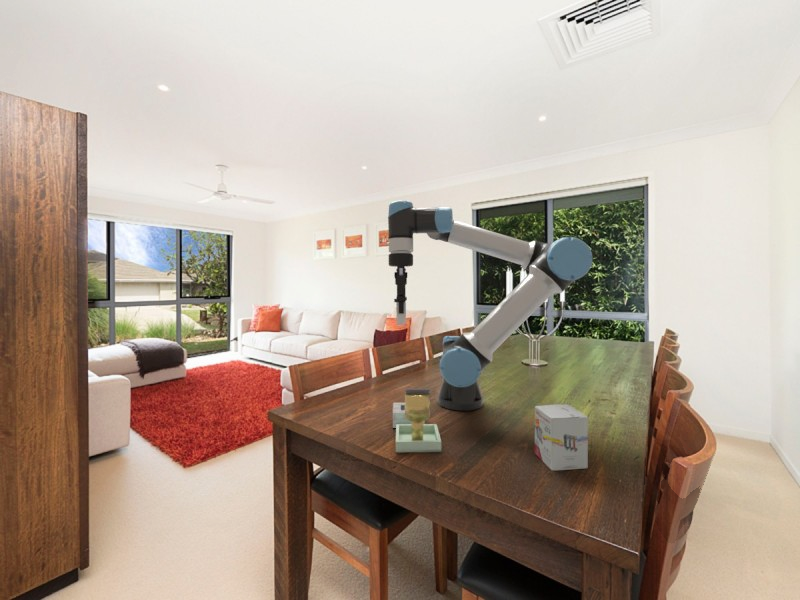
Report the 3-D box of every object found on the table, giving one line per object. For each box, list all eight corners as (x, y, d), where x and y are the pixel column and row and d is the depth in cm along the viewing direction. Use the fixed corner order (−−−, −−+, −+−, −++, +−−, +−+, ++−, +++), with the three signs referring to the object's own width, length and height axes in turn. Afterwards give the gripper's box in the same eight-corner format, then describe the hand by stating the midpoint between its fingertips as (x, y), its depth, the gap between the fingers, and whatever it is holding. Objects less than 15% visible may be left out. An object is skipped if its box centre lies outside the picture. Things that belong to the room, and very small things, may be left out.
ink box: (533, 452, 86) (533, 404, 85) (567, 451, 87) (568, 402, 86) (551, 471, 77) (551, 417, 77) (589, 469, 78) (589, 415, 78)
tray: (436, 433, 97) (436, 424, 97) (441, 452, 86) (441, 441, 86) (396, 433, 97) (396, 424, 97) (395, 452, 86) (395, 442, 86)
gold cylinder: (404, 434, 95) (404, 385, 94) (428, 434, 95) (428, 385, 94) (405, 445, 89) (405, 393, 88) (431, 445, 89) (431, 392, 88)
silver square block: (422, 417, 109) (422, 402, 109) (424, 428, 100) (424, 413, 100) (393, 417, 109) (393, 402, 109) (392, 428, 100) (392, 413, 100)
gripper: (389, 256, 122) (389, 318, 123) (387, 249, 97) (387, 327, 98) (411, 256, 122) (411, 318, 123) (414, 249, 97) (415, 326, 98)
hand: (401, 322), depth 111 cm, fingers open, 13 cm apart
